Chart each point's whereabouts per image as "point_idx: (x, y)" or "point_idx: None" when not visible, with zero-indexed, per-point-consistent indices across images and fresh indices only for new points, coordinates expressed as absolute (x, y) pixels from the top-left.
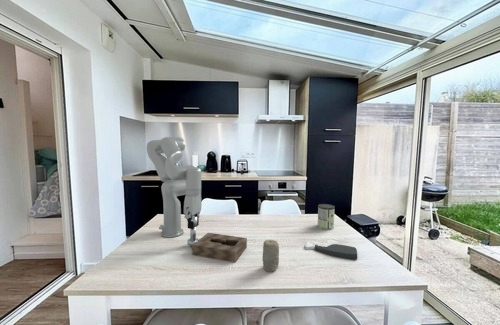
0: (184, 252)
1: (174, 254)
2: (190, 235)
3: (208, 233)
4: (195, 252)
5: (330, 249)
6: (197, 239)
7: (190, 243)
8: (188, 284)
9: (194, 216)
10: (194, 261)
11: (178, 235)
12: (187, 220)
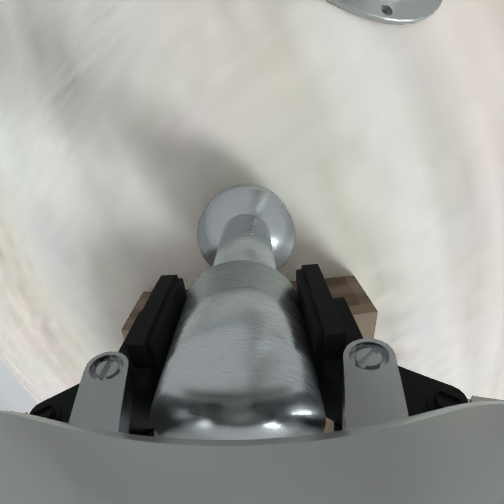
0: (140, 230)
1: (92, 191)
2: (219, 244)
3: (361, 322)
4: None
5: None
6: (276, 261)
7: (199, 242)
8: (23, 375)
9: (263, 437)
10: (104, 336)
11: (351, 11)
12: (95, 367)
